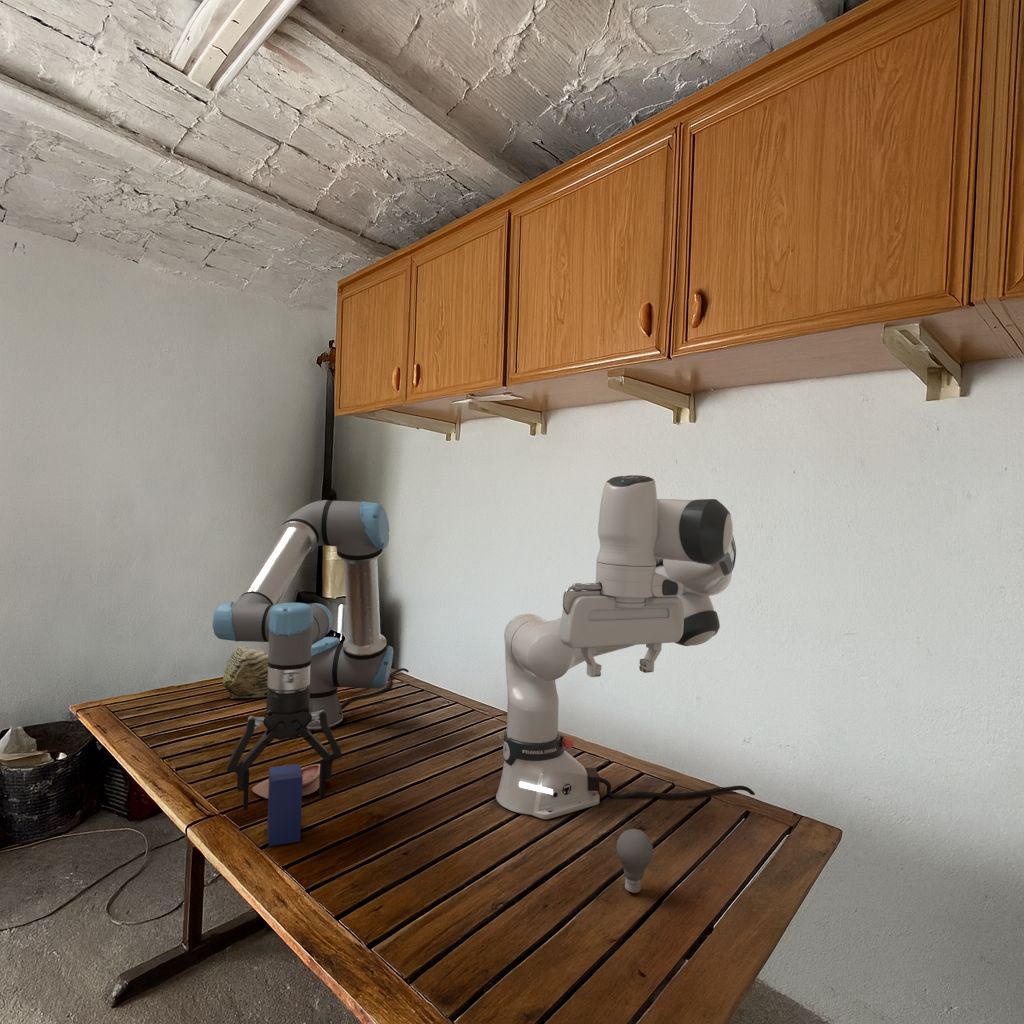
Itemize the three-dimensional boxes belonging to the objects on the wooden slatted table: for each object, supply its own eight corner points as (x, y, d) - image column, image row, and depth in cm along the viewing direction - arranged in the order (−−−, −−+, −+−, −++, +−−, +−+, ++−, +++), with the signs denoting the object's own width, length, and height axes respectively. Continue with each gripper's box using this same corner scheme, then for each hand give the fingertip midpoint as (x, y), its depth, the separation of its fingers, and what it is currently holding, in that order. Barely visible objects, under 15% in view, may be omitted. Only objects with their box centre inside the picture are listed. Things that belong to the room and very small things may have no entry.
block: (268, 846, 114) (270, 781, 114) (267, 830, 120) (269, 767, 120) (300, 841, 116) (302, 776, 116) (297, 825, 122) (299, 763, 122)
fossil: (218, 695, 195) (220, 647, 195) (278, 685, 208) (279, 640, 207) (228, 703, 189) (230, 653, 188) (289, 692, 201) (290, 645, 201)
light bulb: (610, 879, 108) (613, 822, 108) (644, 879, 109) (647, 822, 109) (619, 902, 102) (622, 840, 102) (655, 901, 103) (658, 840, 103)
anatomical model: (244, 776, 132) (275, 755, 144) (243, 795, 132) (274, 772, 144) (301, 785, 130) (329, 762, 141) (301, 804, 130) (328, 780, 141)
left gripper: (214, 699, 109) (210, 821, 110) (360, 688, 119) (355, 800, 119) (215, 687, 116) (211, 802, 116) (353, 677, 126) (349, 783, 126)
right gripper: (574, 586, 88) (570, 684, 89) (692, 584, 97) (687, 674, 97) (554, 580, 94) (549, 672, 94) (666, 579, 102) (662, 664, 103)
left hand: (284, 801), depth 118 cm, fingers open, 13 cm apart
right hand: (620, 673), depth 96 cm, fingers open, 8 cm apart
